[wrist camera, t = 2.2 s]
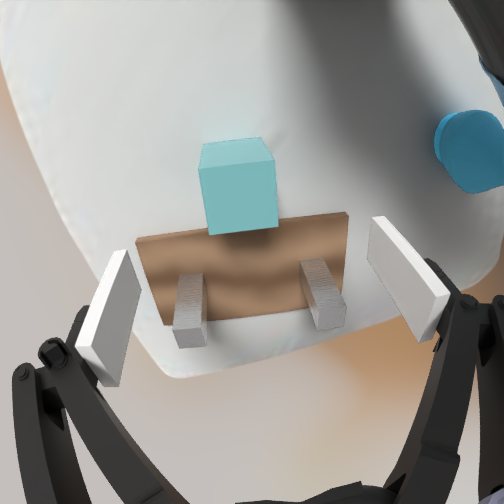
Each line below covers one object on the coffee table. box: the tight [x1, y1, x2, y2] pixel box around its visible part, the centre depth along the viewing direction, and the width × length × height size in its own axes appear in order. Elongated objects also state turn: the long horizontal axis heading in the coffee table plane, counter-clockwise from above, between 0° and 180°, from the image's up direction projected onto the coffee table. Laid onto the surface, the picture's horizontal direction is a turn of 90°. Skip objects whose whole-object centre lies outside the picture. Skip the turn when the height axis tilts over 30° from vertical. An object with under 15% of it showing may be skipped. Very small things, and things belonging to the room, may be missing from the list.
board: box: [135, 212, 349, 325], centre depth 34 cm, size 12×22×1 cm, turn 95°
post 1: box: [172, 273, 207, 349], centre depth 30 cm, size 3×3×8 cm
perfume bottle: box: [434, 110, 504, 194], centre depth 22 cm, size 9×9×15 cm
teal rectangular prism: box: [198, 137, 279, 235], centre depth 25 cm, size 5×5×8 cm
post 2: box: [299, 257, 346, 331], centre depth 31 cm, size 3×3×8 cm
